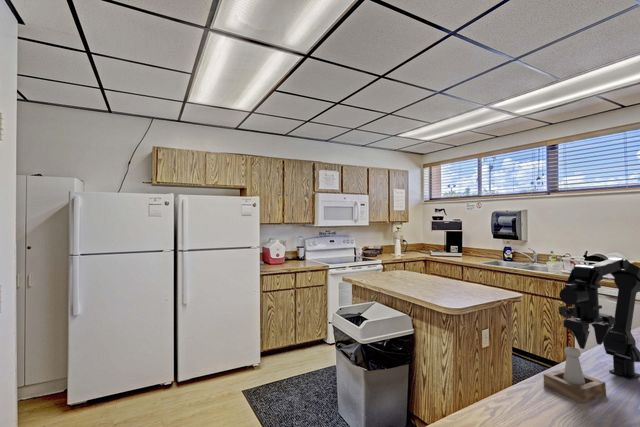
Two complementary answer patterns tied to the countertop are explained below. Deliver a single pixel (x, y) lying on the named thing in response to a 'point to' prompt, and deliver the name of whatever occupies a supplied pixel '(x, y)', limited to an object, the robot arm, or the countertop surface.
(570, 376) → the salt shaker
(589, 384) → the socket block
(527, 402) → the countertop surface
